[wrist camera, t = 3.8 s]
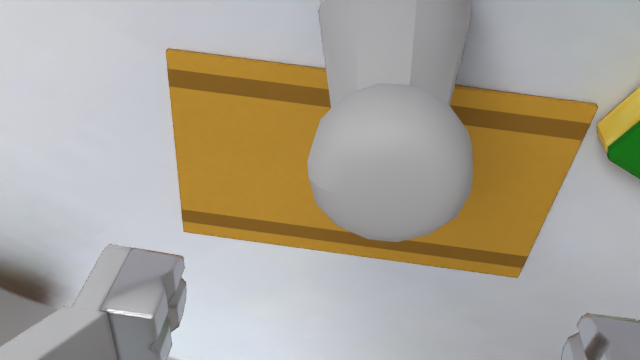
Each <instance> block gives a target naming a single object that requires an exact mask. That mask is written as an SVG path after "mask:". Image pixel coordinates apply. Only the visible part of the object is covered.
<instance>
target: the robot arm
mask: <svg viewBox="0 0 640 360" xmlns="http://www.w3.org/2000/svg"><path fill="white" fill-rule="evenodd" d="M184 269H185V266H184V258H183V256H180V255H174V254H168V253H162V252H156V251H150V250H144V249H138V248H131V247H125V246H118V245H112V244H109V245H108V246H107V247H106V248H105V249H104V250H103V251H102V253H101V255H100V257H99V258H98V260H97V262H96V264H95V266H94V267H93V269H92V271H91V273H90V275H89V276H88V278H87V280H86V282H85V284H84V285H83V287H82V289H81V291H80V292H79V294H78V296H77V298H76V300H75V301H74V303H73V305H72V307H69V306H63V307H62V308H60V309H59V310H57V311H56V312H54V313H52V314H51V315H49V316H48V317H46V318H45V319H43V320H42V321H40V322H38V323H37V324H35V325H34V326H32V327H30V328H29V329H27V330H26V331H24V332H23V333H21V334H20V335H18V336H16V337H15V338H13V339H12V340H10V341H9V342H7V343H5V344H4V345H2V346H1V347H0V360H167V358H168V355H169V352H170V350H171V347H172V339H171V332H172V331H174V330H175V329H176V328H178V327H179V325H180V322H181V319H182V316H183V312H184V307H185V302H186V291H187V289H186V282H185V281H184V280H183V279H182V278H181V277H182V274H183V271H184ZM577 327H578V330H579V333H577V334H575V335H573V336H570V337H568V339H567V341H566V343H565V345H564V347H563V350H562V356H561V360H640V320H635V319H629V318H621V317H614V316H606V315H598V314H591V313H586V314H585V315H583V316H581V318H580V320H579V321H578V323H577Z"/></svg>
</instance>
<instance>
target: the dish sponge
mask: <svg viewBox="0 0 640 360" xmlns="http://www.w3.org/2000/svg"><path fill="white" fill-rule="evenodd" d="M597 134H598V136H599V138H600V140H601V143H602V145H603V147H604V149H605V152H607V156H608V158H609V160H610V161H612V162H613V163H615V164H616V165H618V166H620V167H621V168H623V169H625V170H626V171H628V172H629V173H631V174H633V175H634V176H636V177H638V178H639V179H640V87H639V88H638V89H636V90H635V91H634V92H633V93H632V94H631V95H630V96H628V97H627V98H626V99H625V100H624V101H623V102H622V103H620V104H619V105H618V106H617V107H616V108H615V109H614V110H612V111H611V112H610V113H609V114H608V115H607V116H605V117H604V118H603V119H602V120H601V121H600V122H599V123H597Z"/></svg>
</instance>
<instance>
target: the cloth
mask: <svg viewBox="0 0 640 360" xmlns="http://www.w3.org/2000/svg"><path fill="white" fill-rule="evenodd" d="M166 58H167V68H168V79H169V88H170V98H171V108H172V118H173V128H174V139H175V149H176V159H177V169H178V179H179V189H180V199H181V210H182V221H183V230H184V232H188V233H195V234H203V235H210V236H217V237H224V238H232V239H239V240H246V241H253V242H261V243H268V244H275V245H282V246H290V247H297V248H304V249H311V250H319V251H326V252H333V253H341V254H348V255H355V256H362V257H370V258H377V259H384V260H391V261H399V262H406V263H413V264H420V265H428V266H435V267H442V268H449V269H457V270H464V271H471V272H478V273H486V274H493V275H500V276H507V277H515V278H518V276H519V274H520V272H521V270H522V268H523V266H524V264H525V262H526V259H527V257H528V255H529V253H530V251H531V248H532V246H533V244H534V242H535V240H536V238H537V236H538V234H539V232H540V229H541V227H542V225H543V223H544V221H545V219H546V217H547V215H548V212H549V210H550V208H551V206H552V204H553V202H554V200H555V198H556V195H557V193H558V191H559V189H560V187H561V185H562V183H563V181H564V178H565V176H566V174H567V172H568V170H569V168H570V166H571V164H572V161H573V159H574V157H575V155H576V153H577V151H578V149H579V147H580V144H581V142H582V140H583V138H584V136H585V134H586V132H587V130H588V128H589V126H590V123H591V121H592V119H593V117H594V115H595V113H596V110H597V108H598V106H597V104H594V103H586V102H579V101H571V100H563V99H555V98H548V97H540V96H532V95H524V94H517V93H509V92H501V91H493V90H486V89H478V88H470V87H462V86H454V90H453V94H452V99H451V103H450V107H451V108H452V110H453V111H454V112H455V114H456V115H457V117H458V118H459V119H460V121H461V122H462V124H463V125H464V126H465V128H466V129H467V131H468V133H469V136H470V140H471V143H472V157H473V180H472V188H471V192H470V194H469V196H468V198H467V200H466V201H465V203H464V205H463V207H462V208H461V210H460V212H459V214H458V216H457V217H456V218H454V219H452V220H451V221H449V222H448V223H446V224H445V225H443V226H442V227H440V228H439V229H437V230H435V231H434V232H432V233H431V234H428V235H425V236H421V237H417V238H412V239H408V240H404V241H400V242H389V241H380V240H370V239H366V238H364V237H362V236H359V235H357V234H355V233H352V232H350V231H348V230H346V229H343V228H341V227H339V226H337V225H335V223H334V222H333V221H332V220H331V219H330V218H329V217H328V216H327V215H326V214H325V213H324V212H323V211H322V209H321V208H320V207H319V206H318V205H317V204H316V202H315V198H314V195H313V191H312V188H311V184H310V181H309V177H308V164H307V160H308V157H309V153H310V150H311V147H312V143H313V140H314V137H315V134H316V131H317V128H318V125H319V122H320V119H321V118H322V117H323V116H324V115H325V114H326V113H327V112H328V111H329V110H330V109H331V103H330V96H329V88H328V81H327V73H326V69H323V68H315V67H307V66H299V65H292V64H284V63H276V62H268V61H261V60H253V59H245V58H237V57H230V56H222V55H214V54H206V53H198V52H191V51H183V50H175V49H167V50H166Z"/></svg>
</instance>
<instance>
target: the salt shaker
mask: <svg viewBox="0 0 640 360" xmlns="http://www.w3.org/2000/svg"><path fill="white" fill-rule="evenodd" d="M318 13H319V20H320V28H321V35H322V43H323V50H324V58H325V66H326V73H327V81H328V88H329V96H330V103H331V109H330V110H329V111H328V112H327V113H326V114H325V115H324V116H323V117H322V118H321V119H320V122H319V125H318V128H317V131H316V134H315V137H314V140H313V143H312V147H311V150H310V153H309V157H308V160H307V164H308V177H309V181H310V184H311V188H312V191H313V195H314V198H315V202H316V204H317V205H318V206H319V207H320V208H321V209H322V211H323V212H324V213H325V214H326V215H327V216H328V217H329V218H330V219H331V220H332V221H333V222H334V223H335V225H337V226H339V227H341V228H343V229H346V230H348V231H350V232H352V233H355V234H357V235H359V236H362V237H364V238H366V239H370V240H380V241H389V242H400V241H404V240H408V239H412V238H417V237H421V236H425V235H428V234H431V233H432V232H434V231H435V230H437V229H439V228H440V227H442V226H443V225H445V224H446V223H448V222H449V221H451V220H452V219H454V218H456V217H457V216H458V214H459V212H460V210H461V208H462V207H463V205H464V203H465V201H466V200H467V198H468V196H469V194H470V192H471V188H472V180H473V157H472V143H471V140H470V136H469V133H468V131H467V129H466V128H465V126H464V125H463V124H462V122H461V121H460V119H459V118H458V117H457V115H456V114H455V112H454V111H453V110H452V108H451V107H450V103H451V99H452V94H453V90H454V86H455V82H456V78H457V74H458V70H459V66H460V62H461V58H462V54H463V50H464V46H465V42H466V38H467V34H468V30H469V26H470V0H321V4H320V7H319V11H318Z"/></svg>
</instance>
